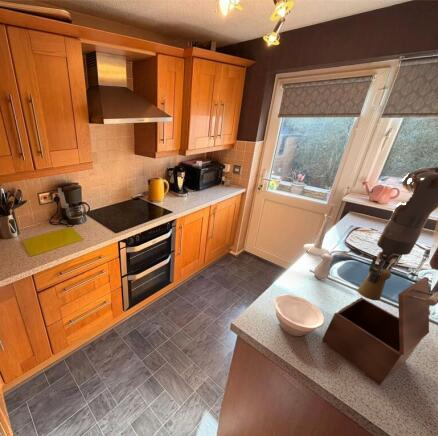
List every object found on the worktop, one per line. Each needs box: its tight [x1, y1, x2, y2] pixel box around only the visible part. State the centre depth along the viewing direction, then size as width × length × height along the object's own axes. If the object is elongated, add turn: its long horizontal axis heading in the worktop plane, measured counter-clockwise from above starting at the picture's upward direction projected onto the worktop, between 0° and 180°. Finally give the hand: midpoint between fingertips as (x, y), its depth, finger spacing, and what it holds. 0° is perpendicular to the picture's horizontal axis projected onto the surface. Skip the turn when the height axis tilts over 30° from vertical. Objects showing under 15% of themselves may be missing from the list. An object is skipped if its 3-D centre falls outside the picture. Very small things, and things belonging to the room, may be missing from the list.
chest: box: [321, 296, 423, 386], centre depth 76 cm, size 17×17×14 cm
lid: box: [397, 276, 438, 355], centre depth 63 cm, size 17×17×5 cm
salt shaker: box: [313, 254, 334, 280], centre depth 112 cm, size 6×6×13 cm
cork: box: [357, 269, 392, 301], centre depth 78 cm, size 6×6×11 cm
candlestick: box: [303, 203, 336, 257], centre depth 131 cm, size 13×13×30 cm
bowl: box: [273, 294, 325, 337], centre depth 87 cm, size 16×16×9 cm
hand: (376, 279), depth 78 cm, fingers closed on cork, 5 cm apart
